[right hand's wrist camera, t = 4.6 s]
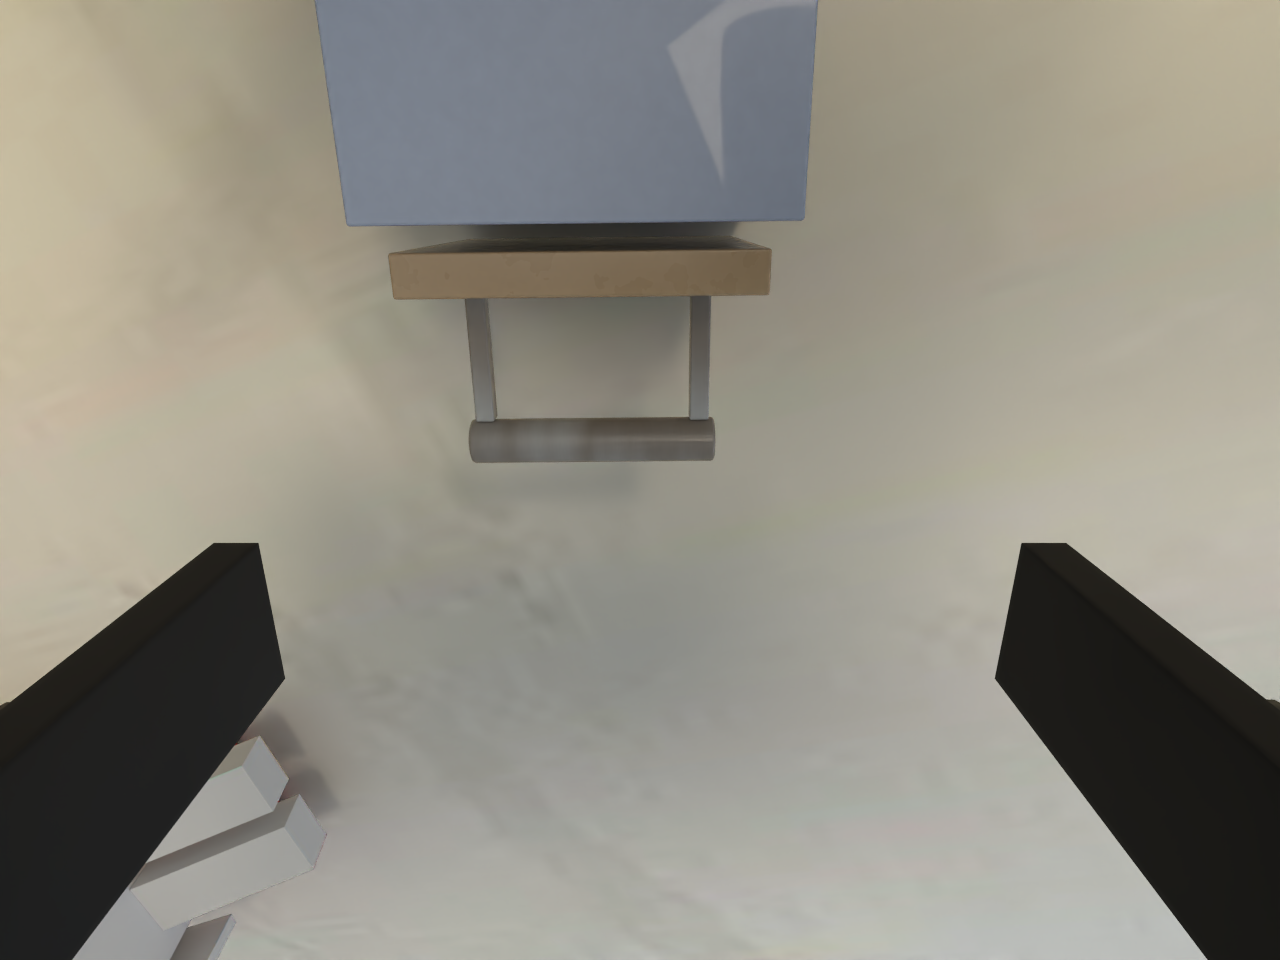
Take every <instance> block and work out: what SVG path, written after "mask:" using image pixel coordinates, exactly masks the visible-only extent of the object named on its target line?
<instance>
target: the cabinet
mask: <svg viewBox="0 0 1280 960" xmlns="http://www.w3.org/2000/svg"><path fill="white" fill-rule="evenodd" d="M315 6H316V13H317V20H318V27H319V34H320V41H321V48H322V55H323V62H324V69H325V76H326V83H327V90H328V97H329V104H330V111H331V118H332V125H333V132H334V139H335V146H336V153H337V160H338V168H339V175H340V182H341V189H342V196H343V203H344V210H345V217H346V224H347V225H348V226H418V225H497V224H576V223H655V222H734V221H802V220H804V217H805V201H806V185H807V168H808V152H809V136H810V120H811V104H812V87H813V71H814V55H815V39H816V23H817V7H818V0H315Z"/></svg>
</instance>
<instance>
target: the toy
mask: <svg viewBox="0 0 1280 960" xmlns="http://www.w3.org/2000/svg"><path fill="white" fill-rule="evenodd" d="M288 780H289V778H288V776H287V775H286V773H285V772H284V770H283V769H282V767H281V766H280V764H279V763H278V761H277V760H276V759H275V757H274V756H273V754H272V753H271V751H270V750H269V748H268V747H267V745H266V744H265V742H264V741H263V739H262V738H261V736H260V735H259V736H257V737H254V738H252V739H249V740H247V741H244V742H242V743H240V744H237V743H236V744H235V745H234V747H233V748H232V749H231V751H230V752H229V753H228V755H227V756H226V757H225V759H224V760H223V761H222V763H221V764H220V765H219V767H218V768H217V769H216V771H215V772H214V773H213V775H212V776H211V777H210V778H209V780H208V781H207V782H206V784H205V785H204V786H203V788H202V789H201V790H200V792H199V793H198V794H197V796H196V797H195V798H194V800H193V801H192V802H191V804H190V805H189V806H188V808H187V809H186V810H185V812H184V813H183V814H182V815H181V817H180V818H179V819H178V821H177V822H176V823H175V825H174V826H173V827H172V829H171V830H170V831H169V833H168V834H167V835H166V837H165V838H164V839H163V841H162V842H161V843H160V845H159V846H158V847H157V849H156V850H155V851H154V852H153V854H152V855H151V856H150V858H149V859H148V860H147V862H146V863H145V864H144V866H143V867H142V868H141V870H140V871H139V872H138V874H137V875H136V876H135V878H134V879H133V880H132V882H131V883H130V884H129V886H128V887H127V888H126V889H125V891H124V892H123V893H122V895H121V896H120V897H119V899H118V900H117V901H116V903H115V904H114V905H113V907H112V908H111V909H110V911H109V912H108V913H107V915H106V916H105V917H104V919H103V920H102V921H101V923H100V924H99V925H98V926H97V928H96V929H95V930H94V932H93V933H92V934H91V936H90V937H89V938H88V940H87V941H86V942H85V944H84V945H83V946H82V948H81V949H80V950H79V952H78V953H77V954H76V956H75V957H74V958H73V960H217V959H218V957H219V955H220V953H221V951H222V949H223V947H224V945H225V943H226V941H227V939H228V937H229V935H230V933H231V931H232V929H233V927H234V925H235V923H236V921H235V919H234V918H233V916H232V914H230V915H226V916H223V917H220V918H217V919H214V920H210V921H207V922H204V923H201V924H198V925H194V926H191V927H188V925H189V923H190V921H191V919H193V918H196V917H198V916H201V915H203V914H205V913H208V912H210V911H213V910H215V909H218V908H220V907H223V906H225V905H228V904H230V903H232V902H235V901H237V900H240V899H242V898H245V897H247V896H250V895H252V894H254V893H257V892H259V891H262V890H264V889H267V888H269V887H272V886H274V885H276V884H279V883H281V882H284V881H286V880H289V879H291V878H294V877H296V876H299V875H301V874H303V873H306V872H308V871H311V870H313V869H314V867H315V865H316V862H317V859H318V857H319V854H320V851H321V849H322V846H323V843H324V841H325V838H326V835H327V834H326V833H325V831H324V830H323V828H322V827H321V825H320V824H319V822H318V821H317V819H316V818H315V816H314V815H313V813H312V812H311V810H310V809H309V807H308V806H307V804H306V803H305V802H304V800H303V799H302V797H301V796H300V794H298V795H295V796H293V797H290V798H288V799H286V800H283V801H281V802H280V801H279V799H280V796H281V794H282V792H283V790H284V788H285V786H286V784H287V782H288ZM187 927H188V928H187Z"/></svg>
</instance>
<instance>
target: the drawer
mask: <svg viewBox="0 0 1280 960" xmlns="http://www.w3.org/2000/svg"><path fill="white" fill-rule="evenodd" d="M771 256H772V250H771V249H769V248H766V247H763V246H760V245H757V244H754V243H751V242H748V241H744V240H741V239H738V238H735V237H732V236H680V237H600V238H520V239H467V240H462V241H456V242H450V243H445V244H439V245H433V246H428V247H422V248H417V249H411V250H405V251H400V252H394V253H390V254H389V255H388V258H389V266H390V274H391V282H392V290H393V297H394V299H465V308H466V318H467V329H468V340H469V351H470V362H471V372H472V383H473V394H474V405H475V415H476V419H475V420H473V421H472V422H471V425H470V430H469V450H470V455H471V458H472V460H473V462H475V463H520V462H621V461H711V460H713V459H714V455H715V423H714V419H713V418H712V417H708V415H709V367H710V319H711V296H733V295H769V293H770V277H771ZM648 296H690V337H689V417H640V418H544V419H496V418H497V406H496V393H495V381H494V369H493V357H492V345H491V332H490V320H489V308H488V298H564V297H648Z"/></svg>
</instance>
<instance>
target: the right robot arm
mask: <svg viewBox="0 0 1280 960" xmlns="http://www.w3.org/2000/svg"><path fill="white" fill-rule="evenodd" d="M284 679H285V675H284V670H283V665H282V660H281V655H280V650H279V645H278V640H277V635H276V630H275V625H274V620H273V615H272V610H271V605H270V599H269V594H268V589H267V584H266V579H265V574H264V569H263V564H262V559H261V554H260V549H259V544H258V543H213V544H212V545H211V546H209V547H208V548H207V549H206V550H204V551H203V552H202V553H200V554H199V555H198V556H197V557H195V558H194V559H193V560H192V561H190V562H189V563H188V564H186V565H185V566H184V567H183V568H181V569H180V570H179V571H177V572H176V573H175V574H174V575H172V576H171V577H170V578H169V579H167V580H166V581H165V582H163V583H162V584H161V585H160V586H158V587H157V588H156V589H154V590H153V591H152V592H151V593H149V594H148V595H147V596H146V597H144V598H143V599H142V600H140V601H139V602H138V603H137V604H135V605H134V606H133V607H131V608H130V609H129V610H128V611H126V612H125V613H124V614H123V615H121V616H120V617H119V618H117V619H116V620H115V621H114V622H112V623H111V624H110V625H108V626H107V627H106V628H105V629H103V630H102V631H101V632H100V633H98V634H97V635H96V636H94V637H93V638H92V639H91V640H89V641H88V642H87V643H85V644H84V645H83V646H82V647H80V648H79V649H78V650H77V651H75V652H74V653H73V654H71V655H70V656H69V657H68V658H66V659H65V660H64V661H62V662H61V663H60V664H59V665H57V666H56V667H55V668H54V669H52V670H51V671H50V672H48V673H47V674H46V675H45V676H43V677H42V678H41V679H39V680H38V681H37V682H36V683H34V684H33V685H32V686H31V687H29V688H28V689H27V690H25V691H24V692H23V693H22V694H20V695H19V696H18V697H16V698H15V699H14V700H13V701H11V702H6V703H5V704H3V705H1V706H0V960H73V958H74V957H75V956H76V954H77V953H78V952H79V950H80V949H81V948H82V946H83V945H84V944H85V942H86V941H87V940H88V938H89V937H90V936H91V934H92V933H93V932H94V930H95V929H96V928H97V926H98V925H99V924H100V923H101V921H102V920H103V919H104V917H105V916H106V915H107V913H108V912H109V911H110V909H111V908H112V907H113V905H114V904H115V903H116V901H117V900H118V899H119V897H120V896H121V895H122V893H123V892H124V891H125V889H126V888H127V887H128V886H129V884H130V883H131V882H132V880H133V879H134V878H135V876H136V875H137V874H138V872H139V871H140V870H141V868H142V867H143V866H144V864H145V863H146V862H147V860H148V859H149V858H150V856H151V855H152V854H153V852H154V851H155V850H156V849H157V847H158V846H159V845H160V843H161V842H162V841H163V839H164V838H165V837H166V835H167V834H168V833H169V831H170V830H171V829H172V827H173V826H174V825H175V823H176V822H177V821H178V819H179V818H180V817H181V815H182V814H183V813H184V812H185V810H186V809H187V808H188V806H189V805H190V804H191V802H192V801H193V800H194V798H195V797H196V796H197V794H198V793H199V792H200V790H201V789H202V788H203V786H204V785H205V784H206V782H207V781H208V780H209V778H210V777H211V776H212V775H213V773H214V772H215V771H216V769H217V768H218V767H219V765H220V764H221V763H222V761H223V760H224V759H225V757H226V756H227V755H228V753H229V752H230V751H231V749H232V748H233V747H234V745H235V744H236V743H237V741H238V740H239V739H240V738H241V736H242V735H243V734H244V732H245V731H246V730H247V728H248V727H249V726H250V724H251V723H252V722H253V720H254V719H255V718H256V716H257V715H258V714H259V712H260V711H261V710H262V708H263V707H264V706H265V704H266V703H267V702H268V701H269V699H270V698H271V697H272V695H273V694H274V693H275V691H276V690H277V689H278V687H279V686H280V685H281V683H282V682H283V681H284ZM995 679H996V681H997V682H998V683H999V685H1000V686H1001V687H1002V689H1003V690H1004V691H1005V693H1006V694H1007V695H1008V697H1009V698H1010V699H1011V701H1012V702H1013V703H1014V704H1015V706H1016V707H1017V708H1018V710H1019V711H1020V712H1021V714H1022V715H1023V716H1024V718H1025V719H1026V720H1027V722H1028V723H1029V724H1030V726H1031V727H1032V728H1033V730H1034V731H1035V732H1036V734H1037V735H1038V736H1039V738H1040V739H1041V740H1042V741H1043V743H1044V744H1045V745H1046V747H1047V748H1048V749H1049V751H1050V752H1051V753H1052V755H1053V756H1054V757H1055V759H1056V760H1057V761H1058V763H1059V764H1060V765H1061V767H1062V768H1063V769H1064V771H1065V772H1066V773H1067V775H1068V776H1069V777H1070V778H1071V780H1072V781H1073V782H1074V784H1075V785H1076V786H1077V788H1078V789H1079V790H1080V792H1081V793H1082V794H1083V796H1084V797H1085V798H1086V800H1087V801H1088V802H1089V804H1090V805H1091V806H1092V808H1093V809H1094V810H1095V812H1096V813H1097V814H1098V815H1099V817H1100V818H1101V819H1102V821H1103V822H1104V823H1105V825H1106V826H1107V827H1108V829H1109V830H1110V831H1111V833H1112V834H1113V835H1114V837H1115V838H1116V839H1117V841H1118V842H1119V843H1120V845H1121V846H1122V847H1123V849H1124V850H1125V851H1126V852H1127V854H1128V855H1129V856H1130V858H1131V859H1132V860H1133V862H1134V863H1135V864H1136V866H1137V867H1138V868H1139V870H1140V871H1141V872H1142V874H1143V875H1144V876H1145V878H1146V879H1147V880H1148V882H1149V883H1150V884H1151V886H1152V887H1153V888H1154V889H1155V891H1156V892H1157V893H1158V895H1159V896H1160V897H1161V899H1162V900H1163V901H1164V903H1165V904H1166V905H1167V907H1168V908H1169V909H1170V911H1171V912H1172V913H1173V915H1174V916H1175V917H1176V919H1177V920H1178V921H1179V923H1180V924H1181V925H1182V926H1183V928H1184V929H1185V930H1186V932H1187V933H1188V934H1189V936H1190V937H1191V938H1192V940H1193V941H1194V942H1195V944H1196V945H1197V946H1198V948H1199V949H1200V950H1201V952H1202V953H1203V954H1204V956H1205V957H1206V958H1207V960H1280V703H1279V702H1278V701H1276V700H1266V699H1265V698H1264V697H1262V696H1261V695H1260V694H1258V693H1257V692H1256V691H1255V690H1253V689H1252V688H1251V687H1249V686H1248V685H1247V684H1246V683H1244V682H1243V681H1242V680H1241V679H1239V678H1238V677H1237V676H1235V675H1234V674H1233V673H1232V672H1230V671H1229V670H1228V669H1226V668H1225V667H1224V666H1223V665H1221V664H1220V663H1219V662H1218V661H1216V660H1215V659H1214V658H1212V657H1211V656H1210V655H1209V654H1207V653H1206V652H1205V651H1203V650H1202V649H1201V648H1200V647H1198V646H1197V645H1196V644H1195V643H1193V642H1192V641H1191V640H1189V639H1188V638H1187V637H1186V636H1184V635H1183V634H1182V633H1180V632H1179V631H1178V630H1177V629H1175V628H1174V627H1173V626H1172V625H1170V624H1169V623H1168V622H1166V621H1165V620H1164V619H1163V618H1161V617H1160V616H1159V615H1157V614H1156V613H1155V612H1154V611H1152V610H1151V609H1150V608H1149V607H1147V606H1146V605H1145V604H1143V603H1142V602H1141V601H1140V600H1138V599H1137V598H1136V597H1134V596H1133V595H1132V594H1131V593H1129V592H1128V591H1127V590H1126V589H1124V588H1123V587H1122V586H1120V585H1119V584H1118V583H1117V582H1115V581H1114V580H1113V579H1111V578H1110V577H1109V576H1108V575H1106V574H1105V573H1104V572H1103V571H1101V570H1100V569H1099V568H1097V567H1096V566H1095V565H1094V564H1092V563H1091V562H1090V561H1088V560H1087V559H1086V558H1085V557H1083V556H1082V555H1081V554H1080V553H1078V552H1077V551H1076V550H1074V549H1073V548H1072V547H1071V546H1069V545H1068V544H1067V543H1022V544H1021V549H1020V554H1019V559H1018V564H1017V569H1016V574H1015V579H1014V584H1013V589H1012V594H1011V599H1010V605H1009V610H1008V615H1007V620H1006V625H1005V630H1004V635H1003V640H1002V645H1001V650H1000V655H999V660H998V665H997V670H996V675H995Z"/></svg>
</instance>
